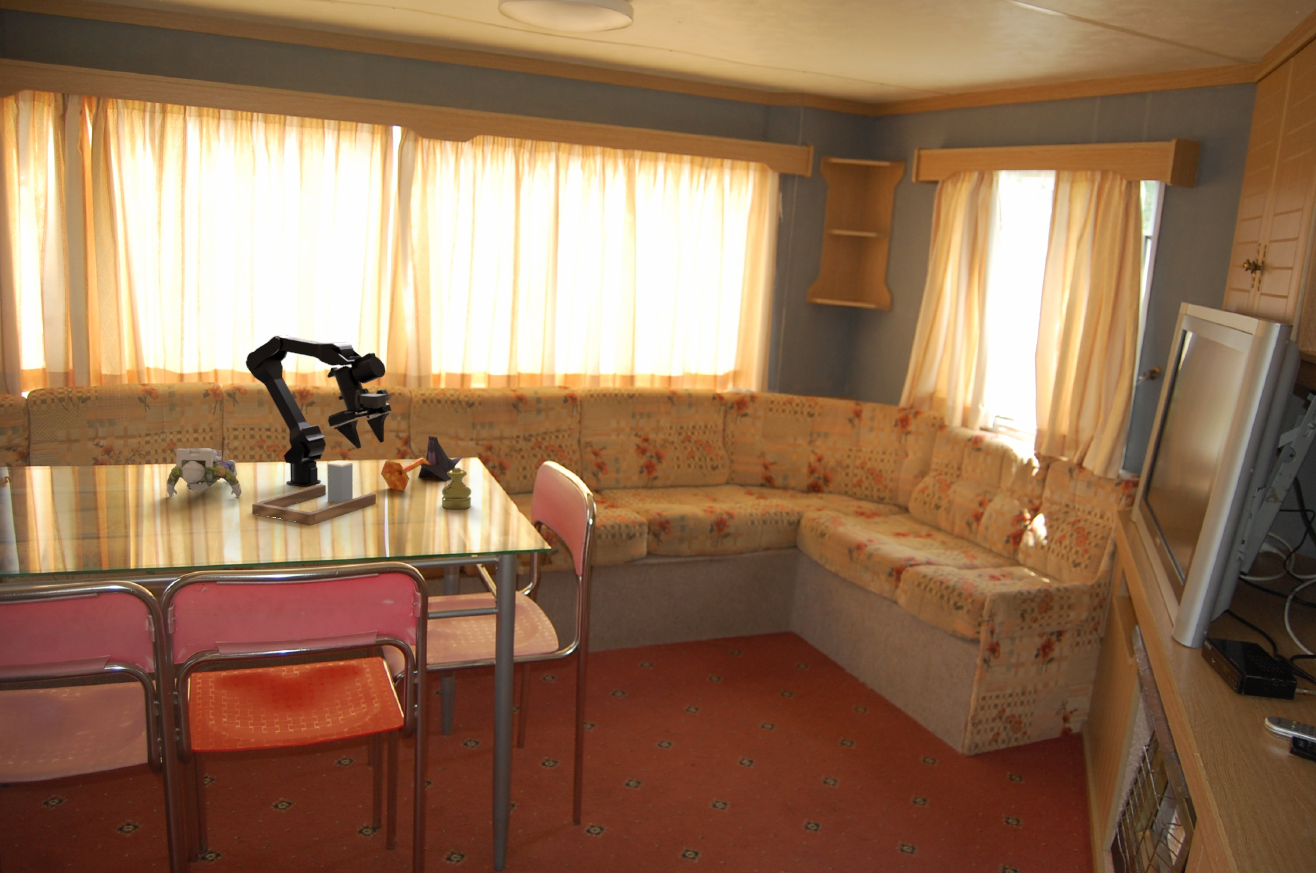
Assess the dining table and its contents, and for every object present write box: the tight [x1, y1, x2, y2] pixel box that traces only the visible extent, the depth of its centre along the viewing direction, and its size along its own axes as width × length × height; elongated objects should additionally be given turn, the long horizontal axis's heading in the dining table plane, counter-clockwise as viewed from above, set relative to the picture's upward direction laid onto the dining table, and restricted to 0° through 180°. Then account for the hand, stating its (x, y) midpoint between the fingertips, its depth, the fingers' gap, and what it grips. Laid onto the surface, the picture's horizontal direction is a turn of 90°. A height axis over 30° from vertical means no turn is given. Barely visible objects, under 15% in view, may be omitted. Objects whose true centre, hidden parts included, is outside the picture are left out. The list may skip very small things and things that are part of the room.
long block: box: [327, 460, 354, 504], centre depth 235 cm, size 4×4×10 cm
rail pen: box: [251, 484, 377, 526], centre depth 228 cm, size 18×24×2 cm
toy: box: [166, 447, 243, 498], centre depth 235 cm, size 18×12×30 cm
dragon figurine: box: [380, 435, 464, 492], centre depth 260 cm, size 10×12×25 cm
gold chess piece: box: [441, 467, 472, 510], centre depth 237 cm, size 7×7×10 cm
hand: (370, 445), depth 242 cm, fingers open, 9 cm apart
